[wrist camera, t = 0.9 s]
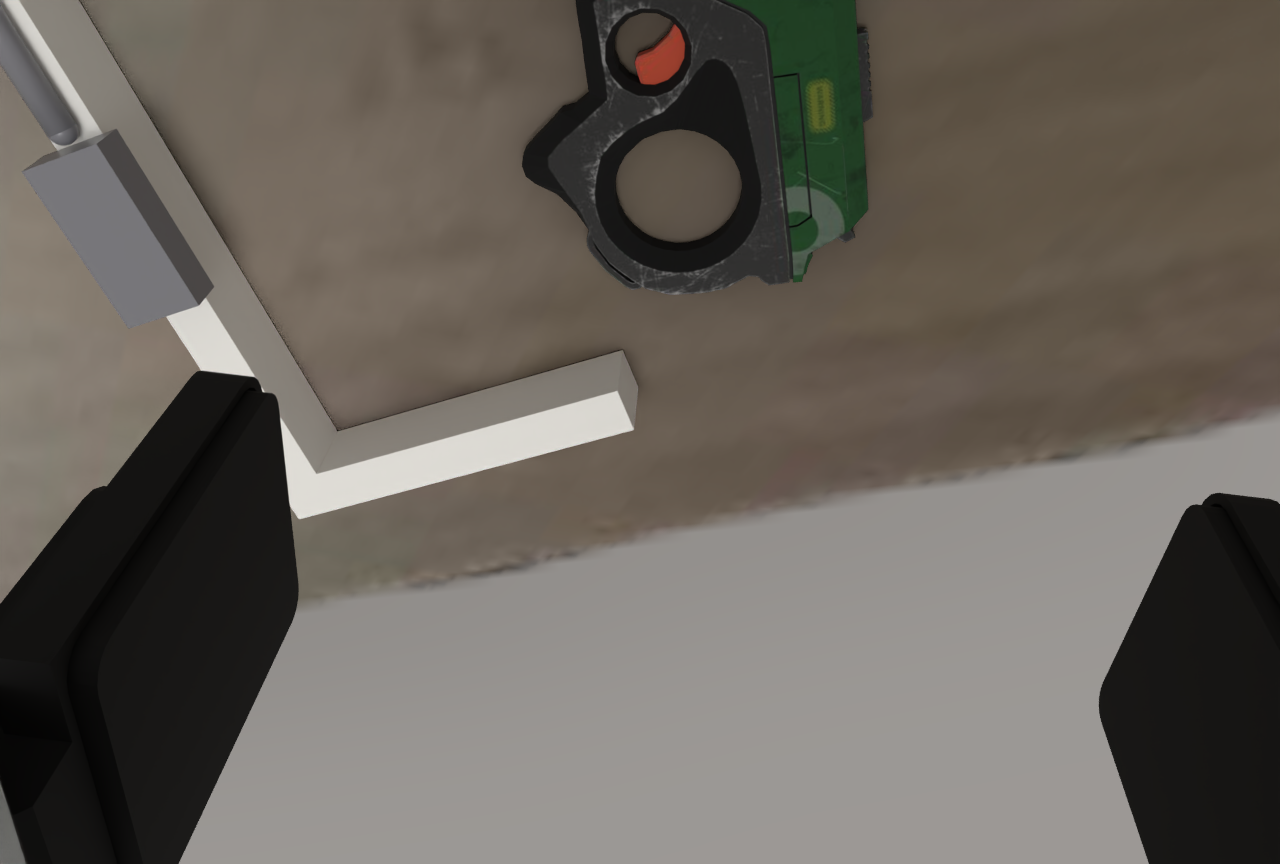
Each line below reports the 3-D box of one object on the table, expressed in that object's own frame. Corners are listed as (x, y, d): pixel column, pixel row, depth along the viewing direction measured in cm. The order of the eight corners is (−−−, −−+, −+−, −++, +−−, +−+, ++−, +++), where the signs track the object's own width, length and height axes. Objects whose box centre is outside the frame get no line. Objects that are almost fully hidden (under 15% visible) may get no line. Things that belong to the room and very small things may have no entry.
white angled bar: (316, -389, 26) (262, -397, 23) (638, 387, 37) (631, 452, 34) (-111, -185, 29) (-209, -168, 26) (309, 478, 40) (275, 545, 37)
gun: (404, -309, 26) (844, -403, 24) (418, -310, 27) (838, -399, 26) (554, 313, 35) (883, 271, 33) (559, 291, 36) (877, 250, 34)
